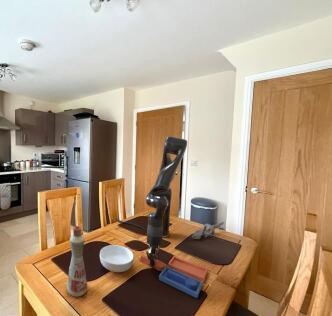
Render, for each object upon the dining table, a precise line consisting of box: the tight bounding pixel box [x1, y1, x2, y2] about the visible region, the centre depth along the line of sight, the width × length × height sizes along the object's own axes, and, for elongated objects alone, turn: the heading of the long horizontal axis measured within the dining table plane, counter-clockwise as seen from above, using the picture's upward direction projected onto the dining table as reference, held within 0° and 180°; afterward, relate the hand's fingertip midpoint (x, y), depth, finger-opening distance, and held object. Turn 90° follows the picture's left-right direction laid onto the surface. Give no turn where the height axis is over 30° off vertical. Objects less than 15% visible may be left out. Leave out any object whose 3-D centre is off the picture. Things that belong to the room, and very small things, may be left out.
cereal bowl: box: [99, 244, 135, 273], centre depth 99 cm, size 17×17×7 cm
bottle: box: [66, 225, 88, 298], centre depth 82 cm, size 9×9×28 cm
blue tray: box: [158, 266, 203, 299], centre depth 89 cm, size 16×9×2 cm, turn 50°
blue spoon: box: [167, 270, 197, 291], centre depth 88 cm, size 12×5×3 cm, turn 50°
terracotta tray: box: [167, 255, 209, 283], centre depth 98 cm, size 16×9×2 cm, turn 50°
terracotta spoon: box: [140, 254, 166, 272], centre depth 101 cm, size 12×5×3 cm, turn 50°
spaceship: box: [191, 221, 225, 240], centre depth 136 cm, size 8×35×8 cm
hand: (152, 264), depth 101 cm, fingers closed on terracotta spoon
